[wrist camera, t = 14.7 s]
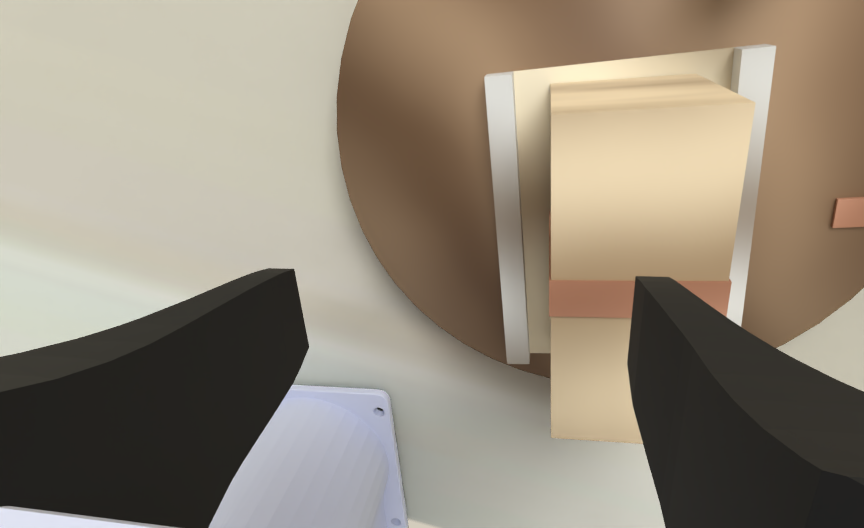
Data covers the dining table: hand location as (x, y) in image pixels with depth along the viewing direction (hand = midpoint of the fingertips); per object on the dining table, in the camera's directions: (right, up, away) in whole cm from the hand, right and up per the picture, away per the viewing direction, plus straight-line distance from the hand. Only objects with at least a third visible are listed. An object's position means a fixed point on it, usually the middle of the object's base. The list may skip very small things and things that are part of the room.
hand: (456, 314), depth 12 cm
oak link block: (+5, +2, +6) cm, 8 cm away
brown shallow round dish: (+5, +5, +7) cm, 10 cm away
